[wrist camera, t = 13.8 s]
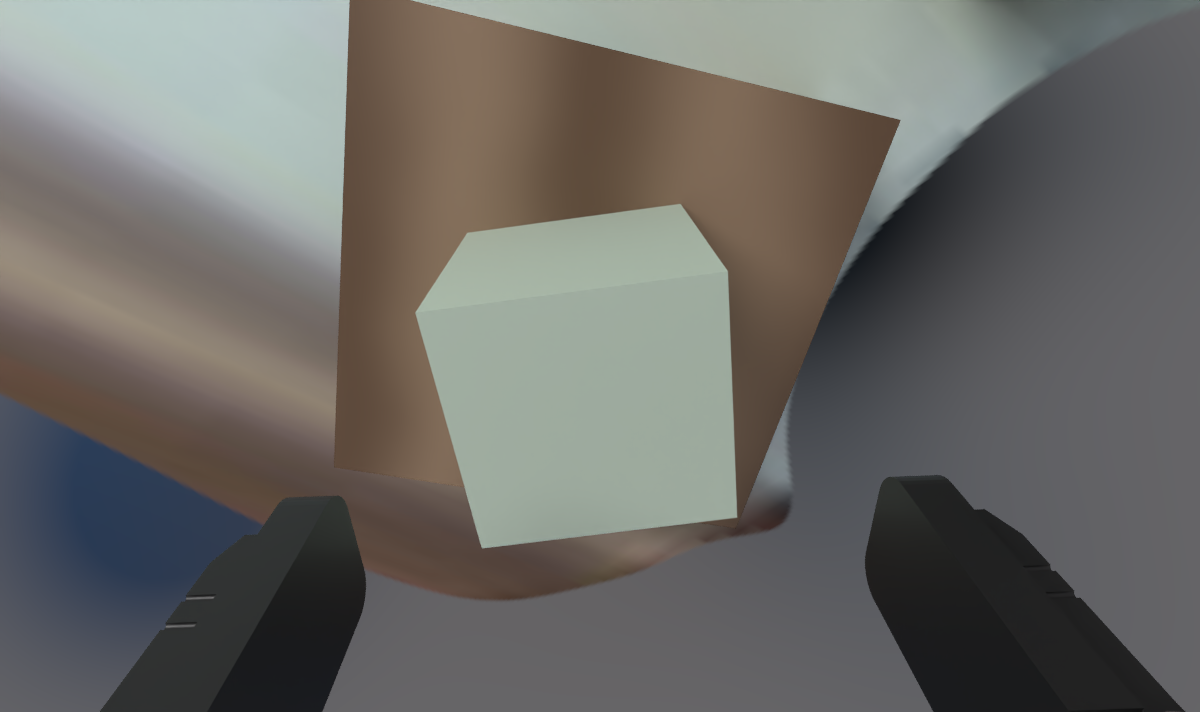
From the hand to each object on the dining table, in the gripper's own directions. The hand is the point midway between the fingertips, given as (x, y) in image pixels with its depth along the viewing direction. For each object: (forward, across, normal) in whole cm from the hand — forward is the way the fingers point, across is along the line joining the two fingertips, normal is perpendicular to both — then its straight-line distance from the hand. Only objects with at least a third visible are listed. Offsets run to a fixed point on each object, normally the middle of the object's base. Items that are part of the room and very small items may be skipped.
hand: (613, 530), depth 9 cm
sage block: (+8, 0, 0) cm, 8 cm away
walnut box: (+14, 0, 0) cm, 14 cm away
